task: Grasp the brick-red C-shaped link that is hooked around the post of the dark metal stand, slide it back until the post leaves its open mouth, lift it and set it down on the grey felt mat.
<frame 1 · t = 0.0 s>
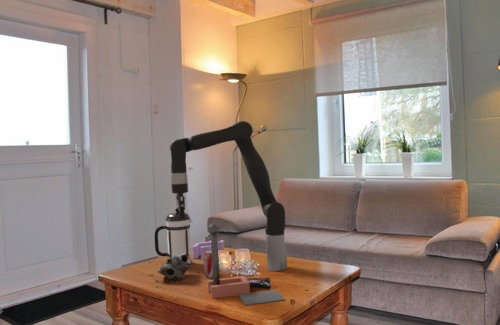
hand: (181, 217, 202), 29 cm above the table, tool pointing down, fingers open, 8 cm apart
soda can: (212, 276, 207), on the table
felt mat: (261, 297, 174), on the table
dark grey lumpy piece: (175, 278, 207), on the table
coffee press: (177, 265, 230), on the table
clip: (209, 255, 248), on the table
c link: (228, 292, 183), on the table
stand: (217, 293, 182), on the table
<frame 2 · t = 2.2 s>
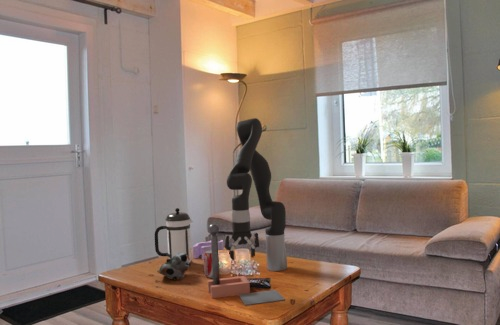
hand: (242, 258, 184), 14 cm above the table, tool pointing down, fingers open, 8 cm apart
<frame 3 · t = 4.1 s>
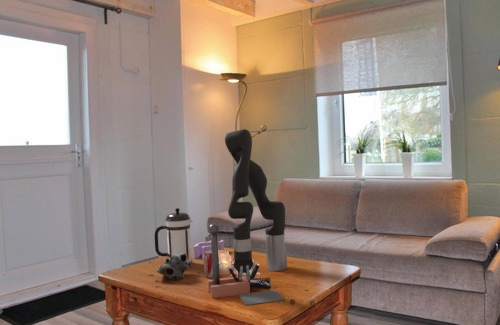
hand: (244, 289, 185), 0 cm above the table, tool pointing down, fingers closed on c link, 2 cm apart
c link: (228, 291, 183), on the table, touching gripper
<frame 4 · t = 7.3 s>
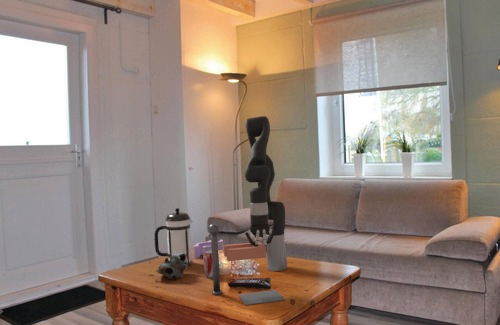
hand: (260, 253, 183), 15 cm above the table, tool pointing down, fingers closed on c link
c link: (244, 256, 181), point 15 cm above the table, touching gripper
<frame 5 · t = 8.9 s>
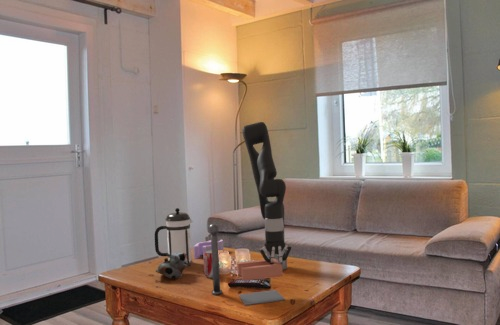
hand: (276, 271, 175), 10 cm above the table, tool pointing down, fingers closed on c link
c link: (259, 274, 174), point 9 cm above the table, touching gripper
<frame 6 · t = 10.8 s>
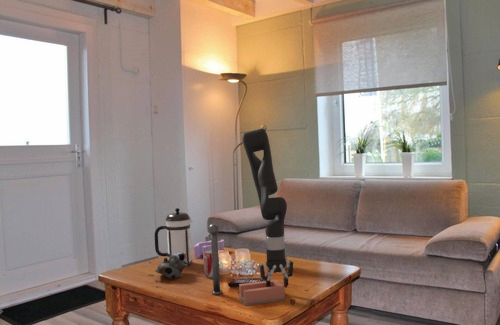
hand: (277, 288, 176), 3 cm above the table, tool pointing down, fingers open, 6 cm apart
c link: (261, 296, 174), resting on felt mat
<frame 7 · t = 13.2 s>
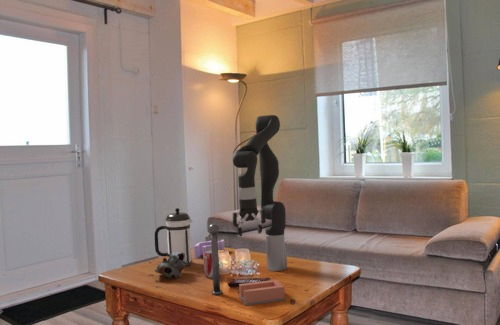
hand: (250, 234, 189), 23 cm above the table, tool pointing down, fingers open, 8 cm apart
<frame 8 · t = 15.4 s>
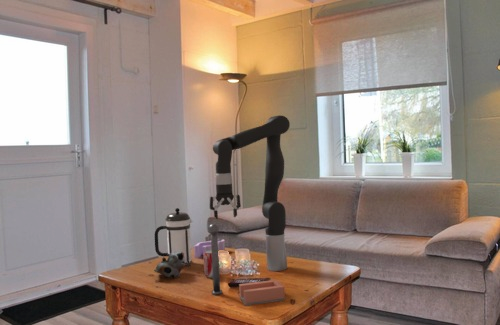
hand: (225, 217, 202), 28 cm above the table, tool pointing down, fingers open, 8 cm apart
at the end: c link inside the target area on the felt mat (0.4 cm from its centre), point 0.4 cm above the felt mat's base; c link tilted 0°; the gripper is holding nothing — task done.
